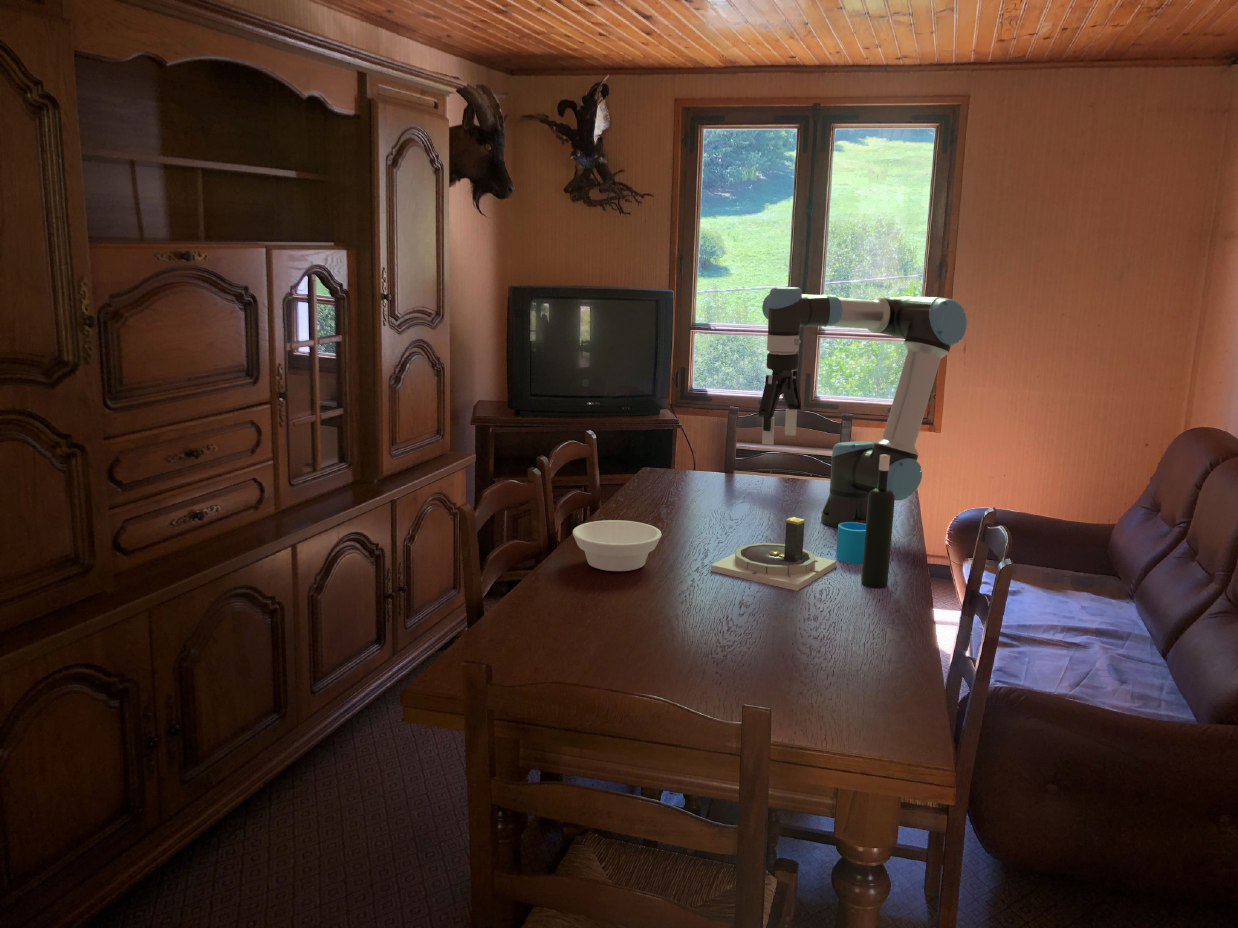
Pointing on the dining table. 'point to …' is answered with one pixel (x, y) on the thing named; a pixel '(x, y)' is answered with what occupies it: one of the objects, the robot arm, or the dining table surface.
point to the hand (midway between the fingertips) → (779, 439)
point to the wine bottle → (878, 530)
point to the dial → (782, 554)
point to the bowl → (616, 543)
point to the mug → (851, 542)
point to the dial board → (774, 579)
